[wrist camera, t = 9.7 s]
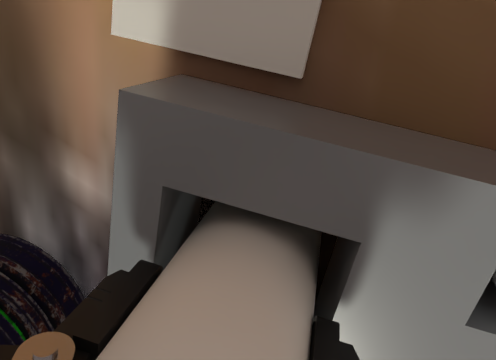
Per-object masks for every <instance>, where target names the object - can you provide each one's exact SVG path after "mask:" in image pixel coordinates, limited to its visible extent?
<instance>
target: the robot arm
mask: <svg viewBox="0 0 496 360" xmlns="http://www.w3.org/2000/svg"><path fill="white" fill-rule="evenodd" d="M162 271H163V267H162V266H161V265H158V264H155V263H151V262H148V261H145V260H140V261H138V262H137V264H136V265H135V266H134V267H133V268H132V269H131V270H130V271H129V272H127V271H124V270H119V271H117V272H115V273H113V274H111V275H109V276H107V277H106V278H105V279H104V280H103V281H102V282H101V283H100V284H99V285H98V286H97V287H96V289H94V290H93V291H92V292H91V293H90V294H89V295H88V297H87V298H85V299H84V300H83V301H82V302H81V303H80V304H79V305H78V306H77V307H76V308H75V309H74V310H73V311H72V312H71V314H70V315H69V316H68V317H67V318H66V319H65V320H64V321H63V322H62V323H61V324H60V325H59V326H58V327H57V328H56V329H55V330H54V331H53V332H44V333H40V334H37V335H34V336H32V337H30V338H29V339H27V340H26V341H24V342H23V343H22V344H21V345H0V360H96V359H97V357H98V356H99V355H100V353H101V352H102V351H103V349H104V348H105V347H106V345H107V344H108V343H109V341H110V340H111V339H112V337H113V336H114V335H115V333H116V332H117V331H118V329H119V328H120V327H121V326H122V324H123V323H124V322H125V320H126V319H127V318H128V316H129V315H130V314H131V312H132V311H133V310H134V308H135V307H136V306H137V304H138V303H139V302H140V300H141V299H142V298H143V296H144V295H145V294H146V292H147V291H148V290H149V288H150V287H151V286H152V285H153V283H154V282H155V281H156V279H157V278H158V277H159V275H160V274H161V273H162ZM309 360H360V359H359V357H358V355H357V353H356V351H355V349H354V347H353V345H351V344H348V343H345V342H342V341H340V324H339V322H336V321H332V320H329V319H326V318H323V317H320V316H317V315H316V316H315V319H314V321H313V326H312V336H311V346H310V356H309Z"/></svg>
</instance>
